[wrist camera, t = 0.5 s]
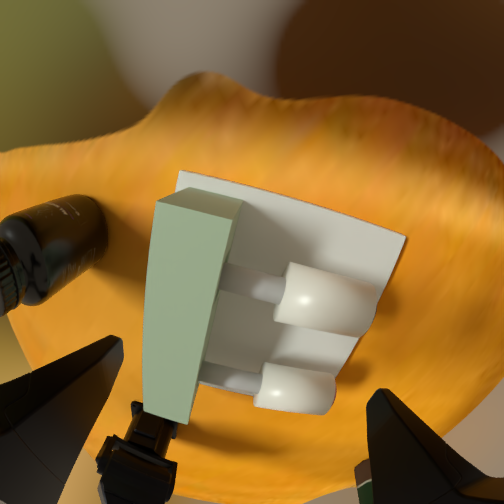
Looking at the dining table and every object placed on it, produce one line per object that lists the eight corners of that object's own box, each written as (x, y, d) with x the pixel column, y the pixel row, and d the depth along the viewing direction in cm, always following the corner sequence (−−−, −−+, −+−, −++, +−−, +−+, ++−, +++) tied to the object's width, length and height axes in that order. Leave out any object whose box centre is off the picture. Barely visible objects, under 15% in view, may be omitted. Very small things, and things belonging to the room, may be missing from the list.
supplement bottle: (96, 181, 20) (-16, 215, 8) (121, 254, 22) (31, 331, 11) (49, 206, 21) (-45, 246, 9) (72, 270, 23) (-8, 333, 12)
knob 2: (191, 366, 23) (181, 398, 19) (197, 335, 22) (185, 367, 18) (317, 392, 24) (322, 423, 20) (334, 364, 22) (343, 396, 18)
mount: (316, 400, 27) (323, 450, 20) (156, 364, 26) (133, 412, 19) (401, 234, 20) (448, 266, 13) (182, 169, 19) (142, 177, 13)
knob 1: (194, 280, 20) (179, 308, 16) (204, 230, 19) (189, 249, 15) (348, 318, 20) (362, 350, 17) (369, 274, 19) (388, 301, 15)
